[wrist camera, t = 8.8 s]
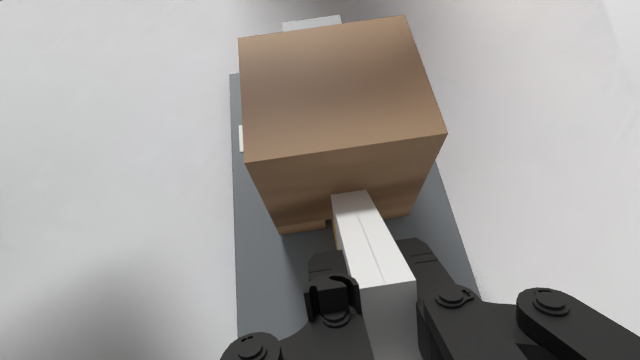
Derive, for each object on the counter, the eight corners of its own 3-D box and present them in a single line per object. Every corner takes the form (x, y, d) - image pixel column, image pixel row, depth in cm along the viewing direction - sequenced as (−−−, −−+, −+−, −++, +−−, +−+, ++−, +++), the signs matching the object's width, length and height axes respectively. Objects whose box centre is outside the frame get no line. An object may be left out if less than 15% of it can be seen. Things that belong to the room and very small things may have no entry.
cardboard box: (408, 215, 19) (448, 133, 12) (279, 235, 19) (244, 163, 12) (383, 125, 22) (404, 14, 15) (271, 142, 22) (238, 38, 15)
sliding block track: (553, 539, 14) (636, 610, 10) (250, 590, 14) (215, 683, 10) (396, 58, 26) (407, 5, 22) (232, 82, 25) (213, 32, 22)
